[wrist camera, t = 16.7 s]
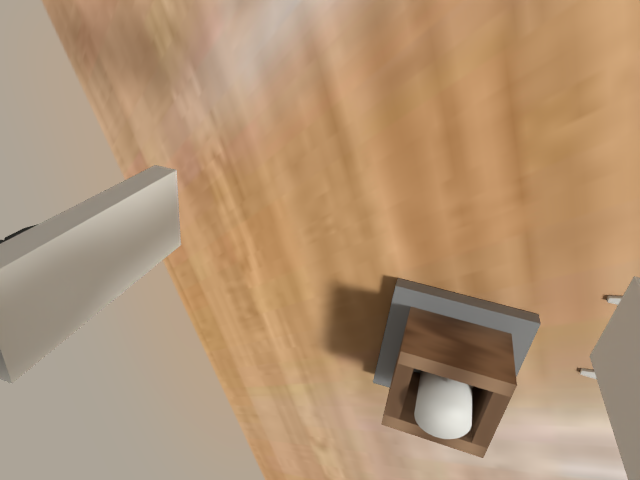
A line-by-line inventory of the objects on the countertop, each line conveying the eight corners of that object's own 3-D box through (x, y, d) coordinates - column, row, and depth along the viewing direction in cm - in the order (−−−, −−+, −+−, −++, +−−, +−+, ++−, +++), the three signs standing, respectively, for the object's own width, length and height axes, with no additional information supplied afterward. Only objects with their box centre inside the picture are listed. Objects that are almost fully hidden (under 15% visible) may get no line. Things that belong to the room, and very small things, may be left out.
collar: (392, 375, 51) (381, 424, 45) (410, 306, 46) (400, 351, 40) (482, 402, 49) (483, 458, 43) (511, 333, 44) (516, 385, 38)
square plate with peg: (375, 373, 54) (356, 442, 45) (397, 277, 47) (380, 338, 38) (495, 410, 51) (499, 491, 42) (538, 314, 44) (552, 389, 35)
